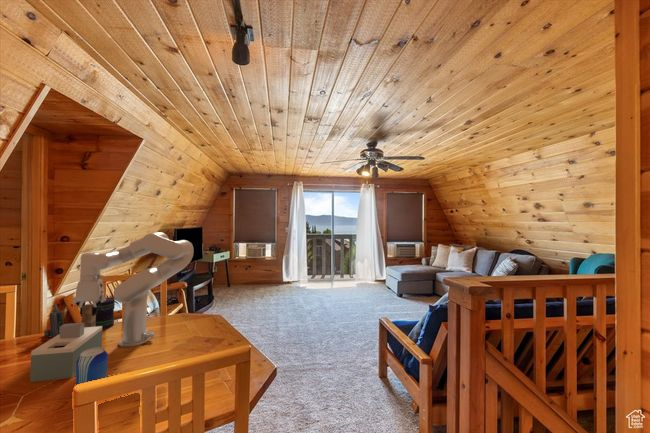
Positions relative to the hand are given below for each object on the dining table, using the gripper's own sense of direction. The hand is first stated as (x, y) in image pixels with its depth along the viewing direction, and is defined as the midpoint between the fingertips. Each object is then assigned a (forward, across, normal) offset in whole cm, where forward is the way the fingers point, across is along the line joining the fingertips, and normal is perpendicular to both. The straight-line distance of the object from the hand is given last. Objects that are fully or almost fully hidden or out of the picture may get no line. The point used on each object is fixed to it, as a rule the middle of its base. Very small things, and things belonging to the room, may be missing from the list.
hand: (88, 314), depth 137 cm
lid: (+4, -4, +22) cm, 23 cm away
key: (+11, 0, 0) cm, 11 cm away
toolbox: (+14, -4, +22) cm, 26 cm away
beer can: (+14, -24, +48) cm, 55 cm away
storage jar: (+14, +3, -21) cm, 25 cm away
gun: (+14, +19, -9) cm, 25 cm away
